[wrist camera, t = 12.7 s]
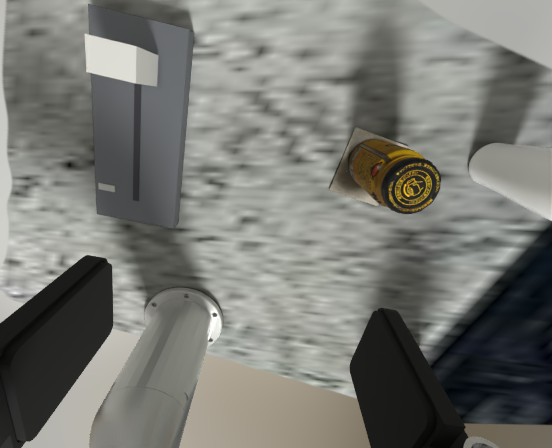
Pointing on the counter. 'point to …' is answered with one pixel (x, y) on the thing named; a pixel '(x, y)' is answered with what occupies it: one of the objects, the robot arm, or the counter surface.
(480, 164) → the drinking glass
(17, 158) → the counter surface
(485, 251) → the counter surface
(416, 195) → the condiment
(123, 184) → the fader panel
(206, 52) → the counter surface
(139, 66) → the fader knob
